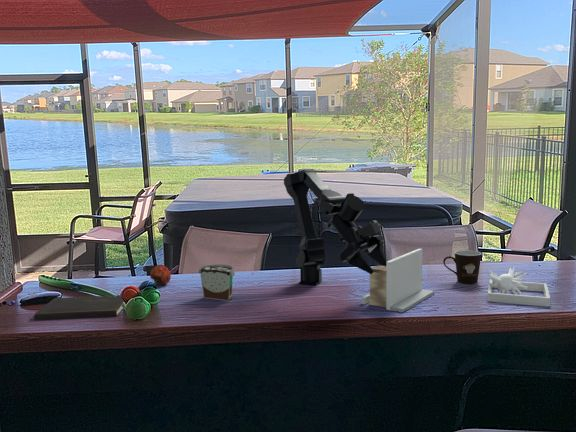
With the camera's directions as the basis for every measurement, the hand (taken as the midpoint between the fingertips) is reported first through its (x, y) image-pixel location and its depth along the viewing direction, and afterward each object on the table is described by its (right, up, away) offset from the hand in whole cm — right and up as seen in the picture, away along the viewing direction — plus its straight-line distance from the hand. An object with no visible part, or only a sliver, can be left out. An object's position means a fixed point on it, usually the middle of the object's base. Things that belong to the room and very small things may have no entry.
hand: (380, 269), depth 155 cm
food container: (-48, -10, +13) cm, 51 cm away
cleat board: (+6, -9, +5) cm, 13 cm away
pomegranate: (-72, -9, +29) cm, 78 cm away
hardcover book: (-88, -13, +3) cm, 89 cm away
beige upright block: (+1, -10, +1) cm, 10 cm away
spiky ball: (+41, -8, +9) cm, 43 cm away
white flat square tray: (+43, -9, +5) cm, 44 cm away
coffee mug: (+32, -7, +24) cm, 41 cm away
